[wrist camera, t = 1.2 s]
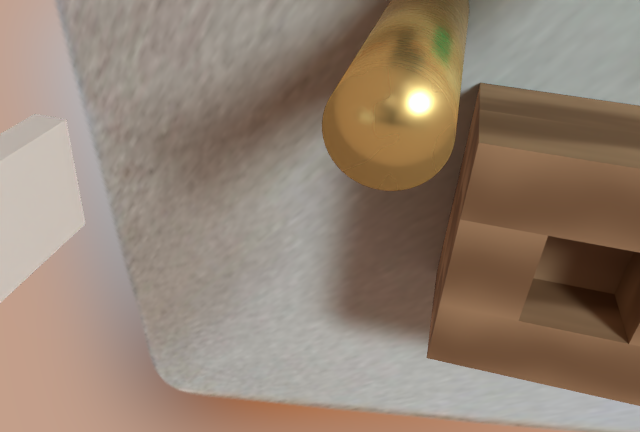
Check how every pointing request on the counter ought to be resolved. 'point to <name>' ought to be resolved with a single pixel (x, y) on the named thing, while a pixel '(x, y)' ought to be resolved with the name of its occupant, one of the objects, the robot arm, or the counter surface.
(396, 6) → the brass pin
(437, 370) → the counter surface
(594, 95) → the counter surface
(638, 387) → the bore block
